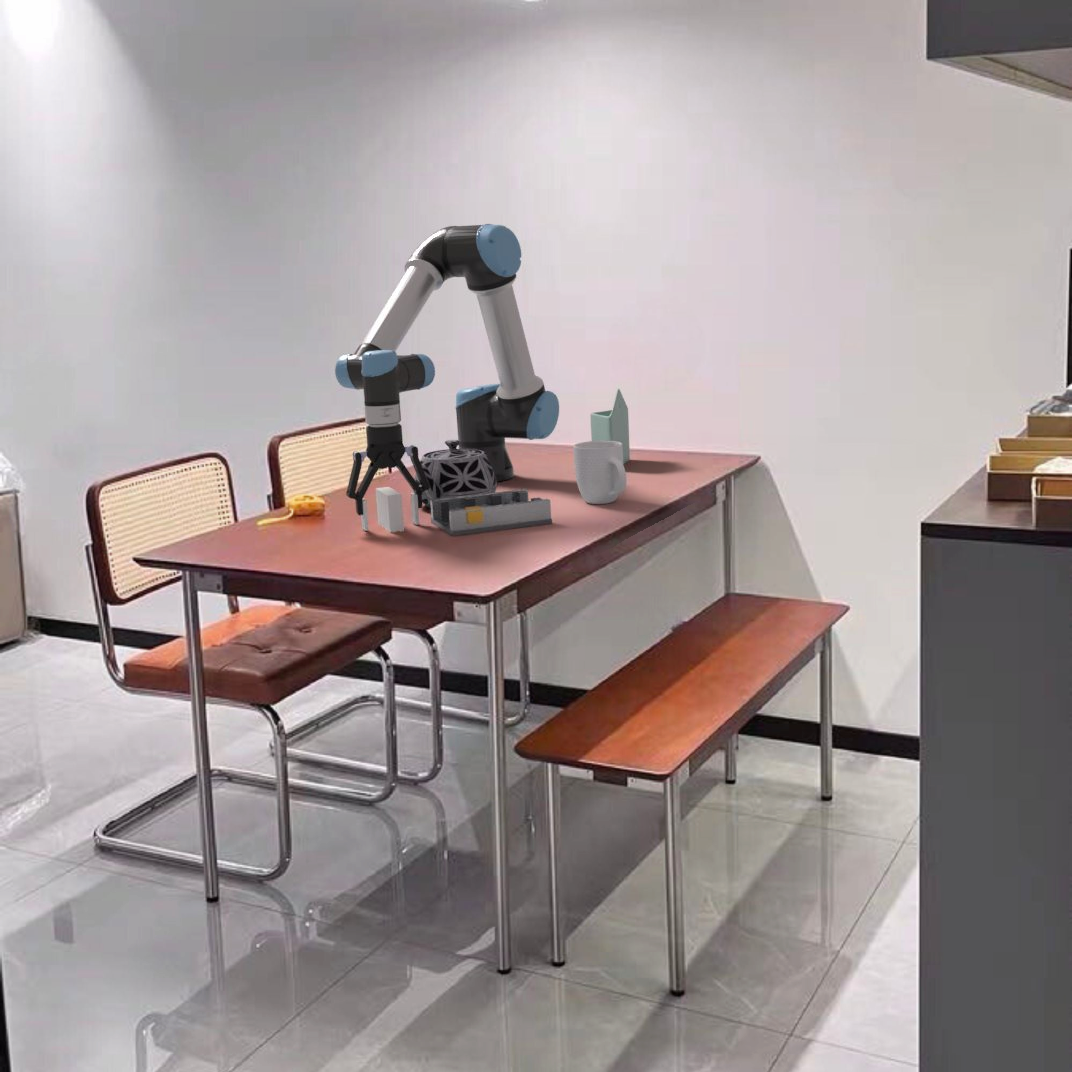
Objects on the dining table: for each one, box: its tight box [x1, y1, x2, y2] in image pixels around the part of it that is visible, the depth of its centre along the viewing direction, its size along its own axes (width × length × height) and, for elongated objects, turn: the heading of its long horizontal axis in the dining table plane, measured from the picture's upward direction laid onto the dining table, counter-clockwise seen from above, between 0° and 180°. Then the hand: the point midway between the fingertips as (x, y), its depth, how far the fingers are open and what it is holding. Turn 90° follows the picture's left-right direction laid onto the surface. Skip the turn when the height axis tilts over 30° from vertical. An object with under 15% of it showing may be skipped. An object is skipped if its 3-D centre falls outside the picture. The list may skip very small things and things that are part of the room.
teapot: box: [413, 439, 498, 509], centre depth 335 cm, size 19×31×15 cm, turn 153°
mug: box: [573, 440, 627, 505], centre depth 330 cm, size 15×11×13 cm
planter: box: [589, 388, 631, 465], centre depth 377 cm, size 16×8×20 cm, turn 162°
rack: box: [430, 488, 553, 537], centre depth 315 cm, size 16×22×5 cm
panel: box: [375, 486, 405, 533], centre depth 316 cm, size 10×3×8 cm, turn 21°
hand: (390, 526), depth 317 cm, fingers open, 10 cm apart
